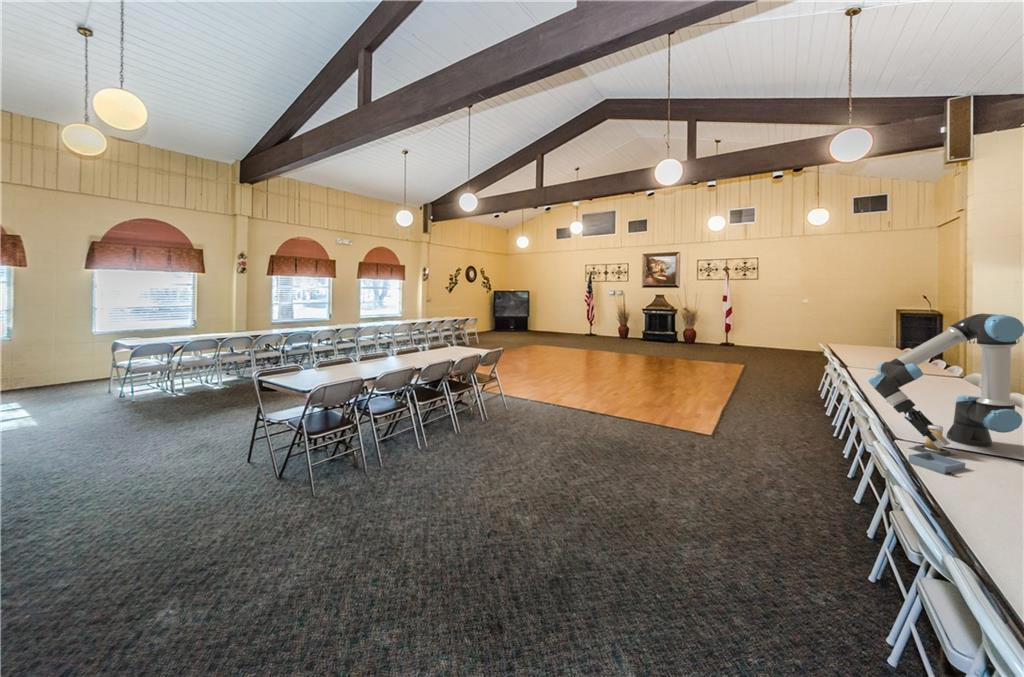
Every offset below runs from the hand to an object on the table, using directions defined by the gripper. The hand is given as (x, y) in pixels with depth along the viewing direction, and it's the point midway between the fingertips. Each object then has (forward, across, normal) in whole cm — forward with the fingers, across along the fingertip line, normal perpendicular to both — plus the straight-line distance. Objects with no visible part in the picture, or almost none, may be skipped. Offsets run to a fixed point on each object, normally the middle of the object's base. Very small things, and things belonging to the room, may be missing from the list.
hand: (944, 446), depth 183 cm
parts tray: (+5, +18, -2) cm, 19 cm away
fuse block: (+1, 0, -6) cm, 6 cm away
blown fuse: (0, 0, -5) cm, 5 cm away
